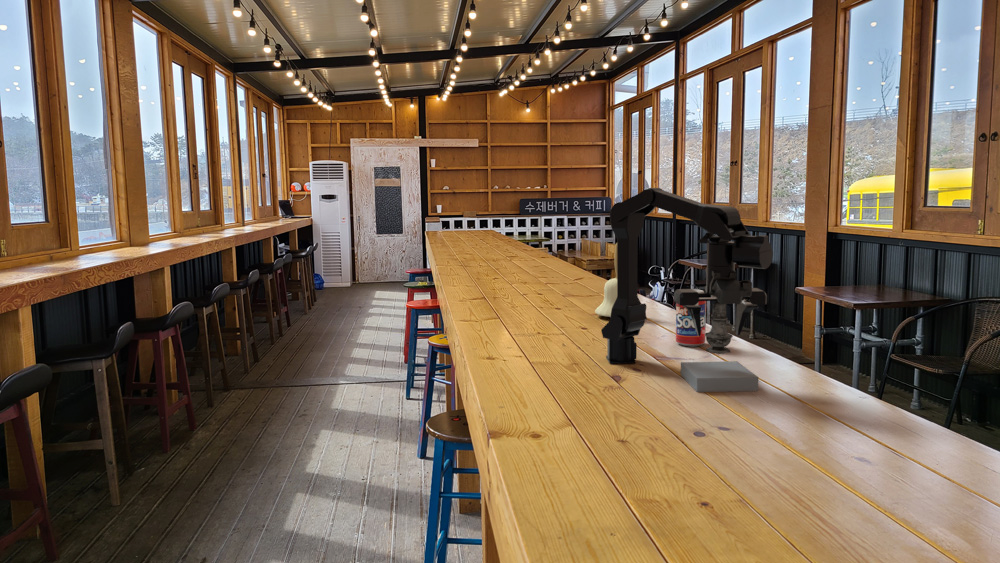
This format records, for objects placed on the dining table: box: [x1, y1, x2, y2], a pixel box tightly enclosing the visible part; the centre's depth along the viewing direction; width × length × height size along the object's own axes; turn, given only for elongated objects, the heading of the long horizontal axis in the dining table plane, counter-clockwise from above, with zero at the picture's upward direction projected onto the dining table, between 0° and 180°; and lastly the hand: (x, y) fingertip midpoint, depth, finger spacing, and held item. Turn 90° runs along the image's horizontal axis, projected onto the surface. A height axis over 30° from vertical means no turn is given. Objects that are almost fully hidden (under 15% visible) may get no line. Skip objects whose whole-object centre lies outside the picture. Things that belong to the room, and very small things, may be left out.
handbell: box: [594, 242, 617, 318], centre depth 222 cm, size 15×15×25 cm
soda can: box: [675, 288, 707, 348], centre depth 183 cm, size 8×8×15 cm
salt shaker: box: [705, 301, 734, 355], centre depth 147 cm, size 6×6×12 cm
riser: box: [680, 360, 760, 393], centre depth 149 cm, size 13×13×3 cm
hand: (718, 335), depth 147 cm, fingers closed on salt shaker, 8 cm apart
